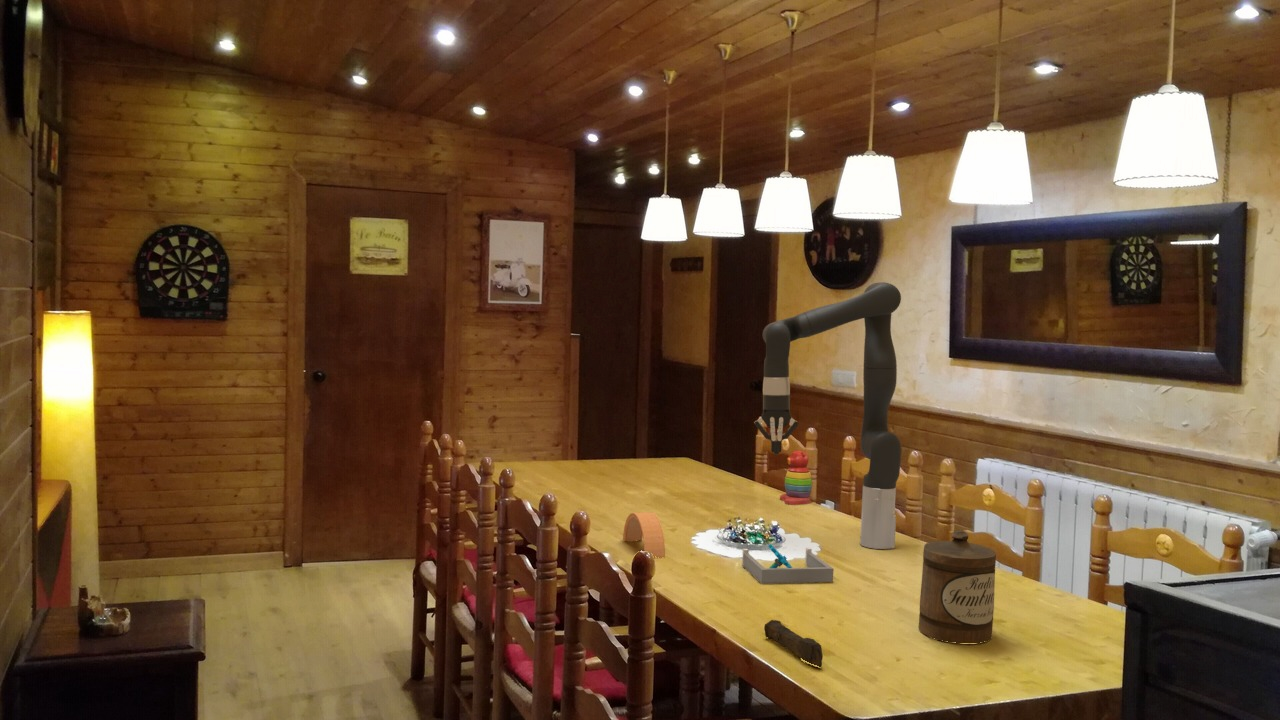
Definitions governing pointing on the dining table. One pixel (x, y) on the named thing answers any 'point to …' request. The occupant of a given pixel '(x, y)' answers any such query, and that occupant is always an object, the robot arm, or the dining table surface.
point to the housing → (789, 570)
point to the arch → (645, 532)
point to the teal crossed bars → (779, 559)
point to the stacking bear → (797, 480)
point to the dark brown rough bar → (795, 642)
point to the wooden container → (957, 590)
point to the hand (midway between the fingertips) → (776, 453)
